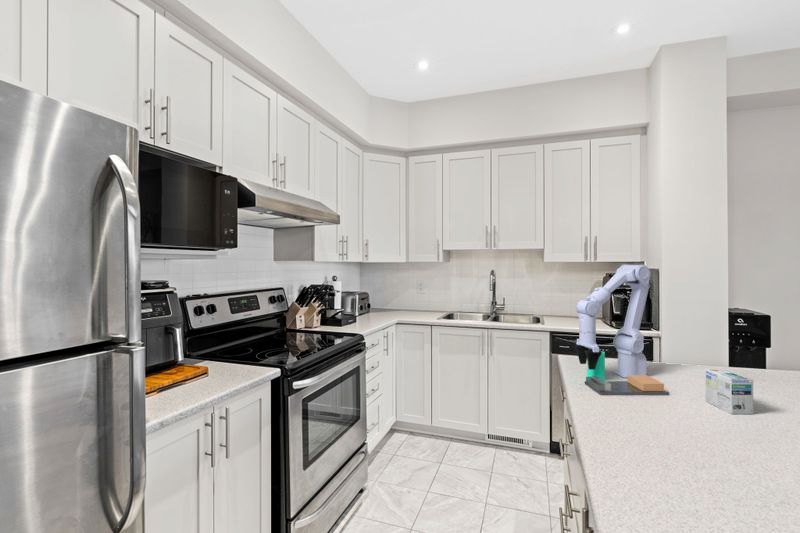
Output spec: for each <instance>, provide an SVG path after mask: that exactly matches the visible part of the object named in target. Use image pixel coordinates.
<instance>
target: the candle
mask: <svg viewBox="0 0 800 533" xmlns="http://www.w3.org/2000/svg"><path fill="white" fill-rule="evenodd" d="M599 351H600V352H602V354H601V355H600V357H599V359H598V361H597V364H596V368H595V369H589V368H588V367H587V377H591V375H597V376H599V377H600V378H602V379H604V380H605V381H606V377H605V375H606V374H605V373H606V353H605V351H602V350H599Z"/></svg>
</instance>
